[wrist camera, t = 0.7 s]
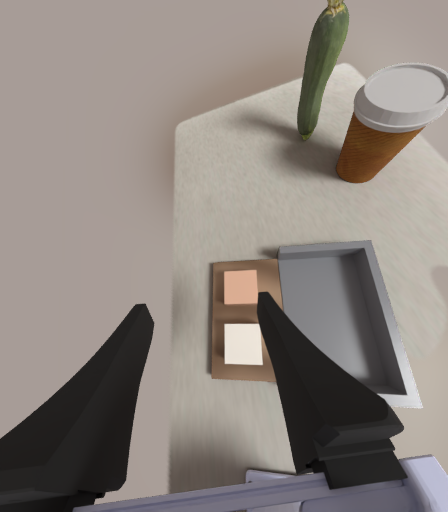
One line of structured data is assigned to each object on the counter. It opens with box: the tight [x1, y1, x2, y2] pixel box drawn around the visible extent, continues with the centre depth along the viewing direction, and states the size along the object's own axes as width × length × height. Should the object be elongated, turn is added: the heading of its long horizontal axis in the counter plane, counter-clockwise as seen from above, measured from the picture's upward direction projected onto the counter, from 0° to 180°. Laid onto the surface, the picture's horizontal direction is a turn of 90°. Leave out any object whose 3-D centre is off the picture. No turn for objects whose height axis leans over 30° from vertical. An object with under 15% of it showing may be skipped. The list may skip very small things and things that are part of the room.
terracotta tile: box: [224, 270, 258, 306], centre depth 26 cm, size 4×4×2 cm
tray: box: [277, 240, 423, 408], centre depth 23 cm, size 18×12×4 cm, turn 0°
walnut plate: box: [212, 259, 283, 382], centre depth 26 cm, size 16×10×1 cm, turn 0°
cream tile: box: [225, 324, 263, 365], centre depth 23 cm, size 4×4×2 cm
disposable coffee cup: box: [336, 63, 448, 183], centre depth 26 cm, size 10×10×12 cm
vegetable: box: [297, 0, 349, 140], centre depth 27 cm, size 4×4×20 cm
